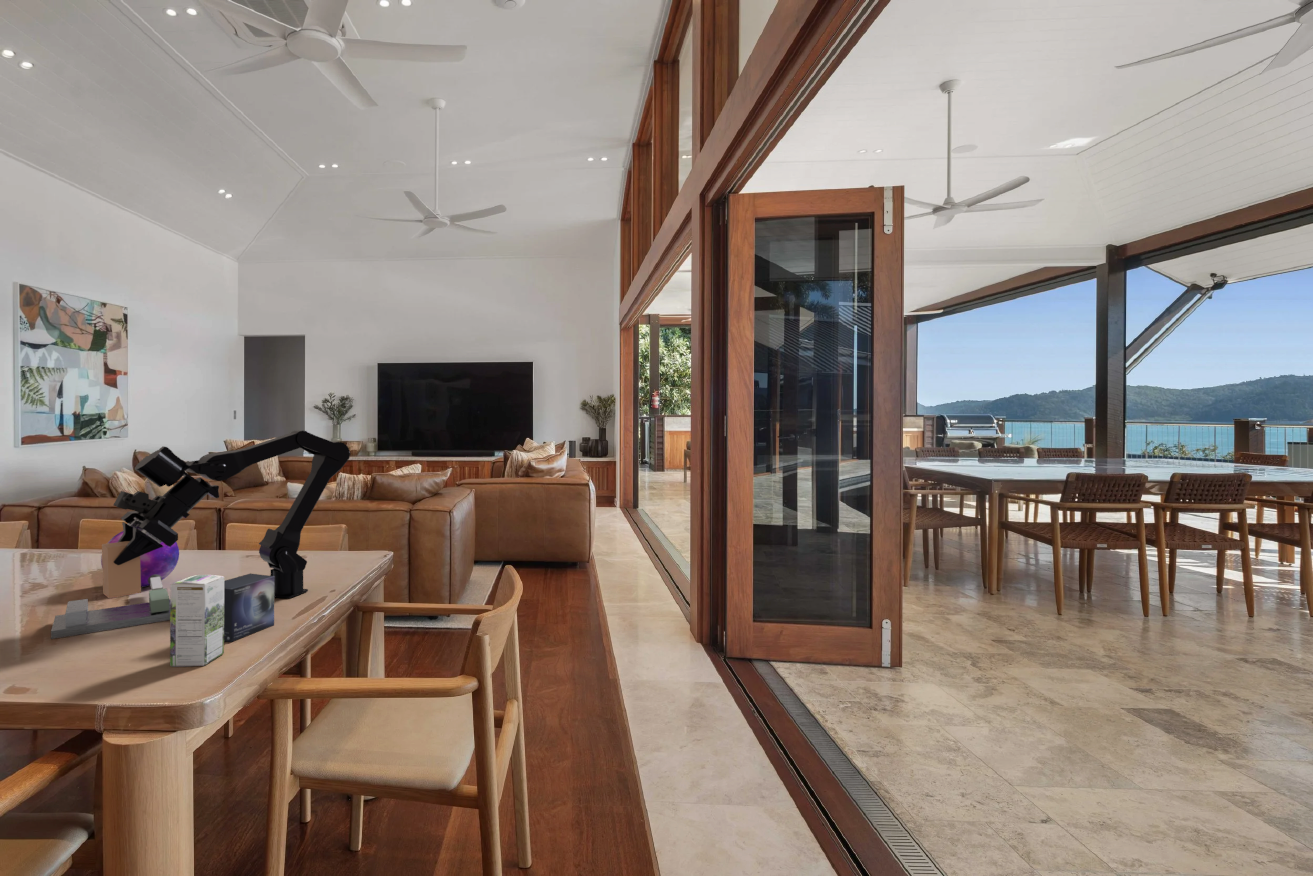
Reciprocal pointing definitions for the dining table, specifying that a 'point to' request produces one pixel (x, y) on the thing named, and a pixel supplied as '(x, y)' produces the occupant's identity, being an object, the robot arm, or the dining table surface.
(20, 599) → the dining table surface
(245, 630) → the small box
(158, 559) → the decorative orb
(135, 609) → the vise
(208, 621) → the syrup box
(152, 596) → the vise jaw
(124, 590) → the tan rectangular block
